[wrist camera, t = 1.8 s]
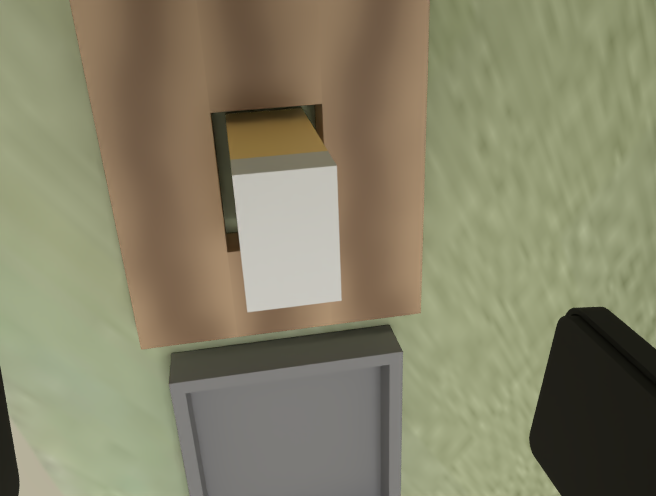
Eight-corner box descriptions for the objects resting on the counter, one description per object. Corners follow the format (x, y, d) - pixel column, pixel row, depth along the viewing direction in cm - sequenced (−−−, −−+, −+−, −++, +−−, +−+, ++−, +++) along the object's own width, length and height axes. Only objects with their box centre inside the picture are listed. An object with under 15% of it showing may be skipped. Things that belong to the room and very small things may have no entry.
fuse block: (301, 107, 33) (336, 165, 24) (307, 212, 35) (341, 300, 26) (225, 113, 32) (231, 175, 23) (237, 220, 35) (247, 312, 26)
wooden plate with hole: (414, -22, 31) (430, -20, 29) (408, 292, 39) (420, 313, 37) (79, -5, 29) (69, -1, 27) (145, 325, 37) (141, 349, 34)
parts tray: (389, 324, 40) (402, 351, 37) (388, 502, 46) (400, 535, 44) (171, 353, 38) (168, 384, 35) (204, 533, 44) (203, 571, 42)
